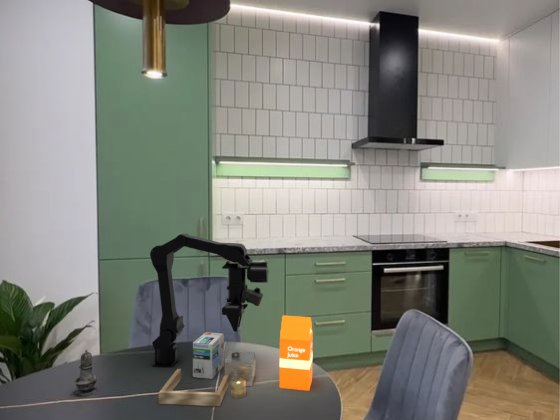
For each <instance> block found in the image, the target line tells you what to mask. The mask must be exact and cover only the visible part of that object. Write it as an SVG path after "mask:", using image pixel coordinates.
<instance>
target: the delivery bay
mask: <svg viewBox="0 0 560 420" xmlns="http://www.w3.org/2000/svg"><path fill="white" fill-rule="evenodd" d="M181 380H182V369H181V368H177V369H176V370H175V371H174V373H173V374H172V375H171V376H170V377H169V379H168V380H167V381H166V382H165V384H164V385H163V386H162V388H161V389H160V391H159V392H158V404H159V405H180V406H182V405H183V406H206V407H220V406H221V404H222V401H223V400H224V397H225V394H226V393H227V390H228V388H229V386H230V385H229V375H225V374H224V376H223V377H222V380H221V382H220V385H219V386H218V388H217V391H216V392H215V391H213V392H211V391H209V392H208V391H190V390H189V391H185V390H183V391H182V390H174V389H175V388H176V387H177V385H178V384H179V383H180V381H181Z"/></svg>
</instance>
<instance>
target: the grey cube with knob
mask: <svg viewBox="0 0 560 420" xmlns="http://www.w3.org/2000/svg"><path fill="white" fill-rule="evenodd" d="M256 361H257V360H256V351H240V350H239V351H237V350H236V351H235V350H234V351H233V350H230V351H229V352H228V355H227V356H226V358H225V359H224V375H229V386H231V380H232V379H233V378H236V377H242V378H245V379H246V387H252V386H253V383H254V379H255V376H256V369H257V367H256Z"/></svg>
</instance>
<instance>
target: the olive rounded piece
mask: <svg viewBox="0 0 560 420" xmlns="http://www.w3.org/2000/svg"><path fill="white" fill-rule="evenodd" d="M230 386H231V391H230V393H231V394H230V396H231V395H232V396H231V397H232V398H234V399H242V398H244V397H246V394H247V392H246V389H247V386H246V379H245V378H242V377H236V378H233V379H232V380H231V385H230Z"/></svg>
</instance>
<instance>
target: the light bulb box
mask: <svg viewBox="0 0 560 420" xmlns="http://www.w3.org/2000/svg"><path fill="white" fill-rule="evenodd" d="M224 367H225V333H222V332H221V333H218V332H209V331H208V332H207V331H205V332H204V333H203V334H202V335H201V336H200V337H198V338H197V339H195V341H193V342H192V377H193V378H199V379H208V380H213V379H214V378H215V376H217V375H218V373H219V372H220V371H221V370H222V369H223V368H224Z"/></svg>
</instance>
